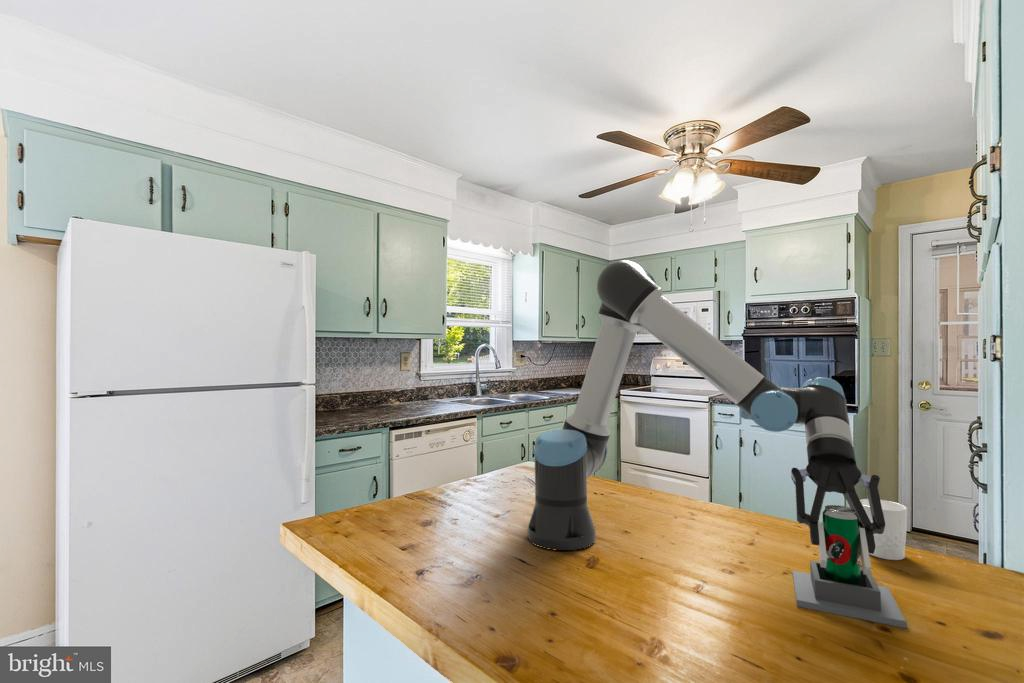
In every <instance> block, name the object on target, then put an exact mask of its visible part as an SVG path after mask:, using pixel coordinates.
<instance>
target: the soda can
mask: <svg viewBox="0 0 1024 683" xmlns="http://www.w3.org/2000/svg"><path fill="white" fill-rule="evenodd" d="M822 523H823V526H824V536H825V546H826V555H827V565H826V568H824V575H825V577H826V578H827V579H828V580H829V581H833V582H839V583H844V584H850V585H856V586H858V585H859V584H860V583H861V569H862V568H861V567H862V563H861V556H860V530H859V528H860V527H859V517H858V516H857V514H856V510H854V509H852V508H850V506H849V507H848V506H844V505H837V504H827V505H825V506H824V510H823V511H822Z"/></svg>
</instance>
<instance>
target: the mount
mask: <svg viewBox="0 0 1024 683" xmlns="http://www.w3.org/2000/svg"><path fill="white" fill-rule="evenodd" d="M809 562H810V564H809V566H810V573H808V572H803V571H798V570H792V579H793V587H794V594H795V596H794V597H795V602H796V607H799V608H803V609H804V608H805V609H810V610H814V611H820V612H825V613H829V614H835V615H838V616H839V615H840V616H845V617H847V618H854V619H859V620H864V621H869V622H873V623H878V624H884V625H889V626H893V627H899V628H902V629H907V620H906V618H905V616H904V614H903V613H902V611H901V609H900V607H899V606H898V604H897V601H896V600H895V598H894V596H893V594H892V592H891V591H890V588H889V587H888V586H883V585H880V584H879V585H878V584H877V582H876V580H875V577H874V575H873V574H872V571H870V574H869V575H865V574H863V569H862V568H861V583H860V584H859V585H858V586H856V585H850V584H844V583H839V582H833V581H829V580H828V579H827V578H826V577H825V575H824V568H823V567H821V566H820V561H817V560H816V561H815V560H810V561H809Z"/></svg>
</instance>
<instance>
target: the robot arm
mask: <svg viewBox="0 0 1024 683" xmlns="http://www.w3.org/2000/svg"><path fill="white" fill-rule="evenodd" d="M596 291H597V295H598V297H599V299H600V301H601V304H600V307H599V310H598V315H597V316H598V317H599V319H600V322H601V324H600V328H599V331H598V335H597V337H596V341H595V344H594V346H593V349H592V353H591V357H590V360H589V364H588V367H587V370H586V373H585V376H584V379H583V382H582V385H581V389H580V392H579V396H578V397H577V398H578V399H577V402H576V404H575V408H574V411H573V413H571V414H570V415H568V416H566V417H565V420H564V424H563V426H562V429H554V430H551V431H549V430H548V431H545V432H543V433H541V434H539V435H538V436H537V437H536V439H535V442H534V443H535V444H534V450H533V454H534V486H535V487H534V489H535V490H534V491H535V495H534V497H535V498H534V499H535V502H534V505H533V506H534V507H533V510H532V513H531V515H530V518H529V522H528V528H527V539H528V538H529V540H530V541H531V542H532V543H534V544H536V545H539V546H542V547H545V548H550V549H556V550H573V551H578V550H577V549H580V550H582V549H581V548H584V547H587V546H589V545H591V544H592V543H593V542H594V541H595V542H596V527H595V525H594V522H593V518H592V514H591V512H590V509H589V507H588V480H587V479H588V478H589V477H591V476H592V475H593V474H595V473H597V472H598V471H599V470H600V469H601V467H602V466H603V465H604V463H605V461H606V459H607V454H608V443H609V438H610V436H611V431H610V429H609V428H608V422H609V419H610V418H609V417H610V415H611V412H612V408H613V406H614V404H615V399H616V397H617V393H618V390H619V387H620V385H621V381H622V378H623V374H624V371H625V368H626V365H627V363H628V360H629V355H630V354H631V350H632V348H633V344H634V341H635V338H636V335H637V333H638V332H640V331H642V330H644V329H645V330H646V331H647V332H648V333H650V334H651V335H652V337H654V338H656V339H657V340H658V341H659V342H660V343H662V344H663V345H664V346H665V347H666V348H667V349H669V350H670V351H671V352H672V353H674V355H676V356H678V357H679V358H680V359H681V360H682V361H683V362H684V363H686V364H687V365H688V366H689V367H690V368H692V369H693V370H694V371H695V372H696V373H698V374H699V375H700V376H702V377H703V378H704V379H705V380H706V381H708V382H709V383H710V384H711V385H712V386H713V387H714V388H716V389H717V390H718V391H719V392H721V393H722V394H723V395H724V396H725V397H727V399H729V400H730V401H732V403H733V404H735V405H736V406H737V407H738V408H739V416H740V417H741V419H743V420H750V421H753V422H754V423H755V425H757V426H759V427H760V428H761V429H763V430H765V431H769V432H772V433H773V432H774V433H779V432H785V431H787V430H788V429H790V428H792V427H793V426H794V425H798V424H799V425H804V429H805V442H806V451H807V452H806V454H807V463H808V464H807V465H806V467H805V468H802V469H801V468H800V469H799V468H797V467H792V468H791V472H790V477H791V480H792V482H793V484H794V487H795V505H796V507H795V508H796V509H795V510H796V521H797V522H798V523H799V524H805V525H806V526H807V527H808V528H809V537H810V538H809V539H810V542H811V545H815V546H818V553H819V562H820V566H821V567H823V568H826V565H827V555H826V546H825V536H824V526H823V522H820V521H819V520H820V516H821V512H822V508H823V503H824V499H825V495H826V493H833V492H834V493H837V494H838V493H839V494H842V495H843V498H844V499H845V500H846V502H847V504H848V506H849V508H852V509H854V510H856V514H857V516H858V517H859V530H860V563H861V567H862V568H861V569H863V574H865V575H869V574H870V572H871V569H872V565H871V559H870V554H869V553H872V554H874V551H875V547H876V546H875V541H874V535H873V534H876V533H878V534H883V532H884V528H885V520H884V515H883V510H882V506H881V501H880V500H881V498H880V493H879V488H878V487H879V484H880V479H881V477H880V476H878V475H877V474H873V475H871V476H870V475H866V474H864V473H862V471H861V470H860V469H859V468H858V466H857V460H856V455H855V450H854V449H855V448H854V442H853V437H852V432H851V427H850V422H849V421H850V420H849V413H848V408H847V402H848V401H847V399H846V395H845V392H844V389H843V386H842V385H841V384H840V383H839V382H838V381H836V380H835V379H833V378H829V377H826V376H825V377H823V376H822V377H821V376H819V377H818V376H817V377H816V378H810V379H807V380H806V381H805V382H804V383H802V386H801V387H787V386H786V387H784V386H777V385H776V384H774V383H773V382H772V381H771V380H769V379H768V378H767V377H765V376H764V375H763V374H762V373H761V372H759V371H758V370H757V369H756V368H755V367H753V366H752V365H750V364H749V363H748V362H747V361H745V360H744V359H743V358H741V356H739V355H738V354H737V353H735V352H734V351H733V350H732V349H731V348H729V347H728V346H727V345H725V344H724V343H723V342H722V341H720V340H719V339H718V338H717V337H715V336H714V335H713V334H711V333H710V332H709V331H708V330H707V329H706V328H704V327H703V326H701V324H699V323H698V322H697V321H695V320H694V319H693V318H691V317H690V316H689V315H687V313H685V312H684V311H683V310H681V309H680V308H679V307H677V306H676V305H675V304H674V303H673V302H671V301H670V300H669V299H668V298H666V297H665V296H664V295H663V288H661V287H660V286H659V285H657V282H656V280H655V278H654V277H653V276H652V275H651V274H650V273H649V272H648V271H646V270H645V269H644V268H643V267H642V266H640V265H639V264H638V263H636V262H633V261H632V260H631V261H630V260H625V259H624V260H618V261H614V262H612V263H610V264H608V265H607V266H605V267H604V269H602V270H601V273H600V274H599V276H598V279H597V284H596ZM807 477H808V478H809V479H810V480H811V481H812V482H813V483H814V484H815V485H816V490H815V496H814V500H813V503H812V507H811V510H810V514H809V513H806V504H805V501H806V500H805V488H804V487H805V486H804V485H805V484H804V482H806V480H807ZM860 482H861V483H862V485H863V487H864V489H865V490H867V499H868V500H869V505H870V510H871V515H872V520H873V523H871V522H870V520H869V518H868V516H867V514H866V512H865V510H864V508H863V506H862V504H861V502H860V500H861V499H860V498H859V496H858V494H857V492H856V488H855V486H857V484H858V483H860ZM529 540H528V541H529ZM530 541H529V542H530ZM531 542H530V543H531ZM595 542H594V543H595ZM532 543H531V544H532ZM534 544H533V545H534ZM536 545H535V546H536ZM592 545H593V544H592ZM592 545H591V546H592ZM589 547H590V546H589ZM587 548H588V547H587ZM584 549H585V548H584Z"/></svg>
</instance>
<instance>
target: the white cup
mask: <svg viewBox="0 0 1024 683" xmlns="http://www.w3.org/2000/svg"><path fill="white" fill-rule="evenodd" d="M859 500H860V502H861V504H862V506H863V508H864V510H865V512H866V514H867V516H868V518H869V520H870V522H871V523H873V520H872V515H871V510H870V505H869V500H868V498H862V499H859ZM880 501H881V506H882V510H883V515H884V520H885V528H884V532H883V534H878V533H876V534H873V535H874V541H875V546H876V547H875V551H874V554H872V553H869V556H870V555H871V556H873V557H876V558H879V559H884V560H891V561H902V560H903V559H906V543H907V525H908V524H907V520H908V519H907V518H908V517H907V516H908V515H907V514H908V508H907V506H905V505H903V504H902V503H898V502H894V501H890V500H885V499H880Z"/></svg>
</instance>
